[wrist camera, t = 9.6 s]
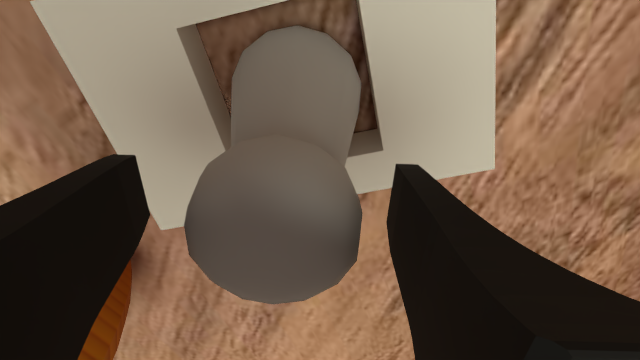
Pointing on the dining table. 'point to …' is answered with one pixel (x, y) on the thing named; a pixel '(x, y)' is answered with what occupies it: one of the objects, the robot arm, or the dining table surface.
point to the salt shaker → (282, 173)
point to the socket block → (211, 111)
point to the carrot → (109, 322)
